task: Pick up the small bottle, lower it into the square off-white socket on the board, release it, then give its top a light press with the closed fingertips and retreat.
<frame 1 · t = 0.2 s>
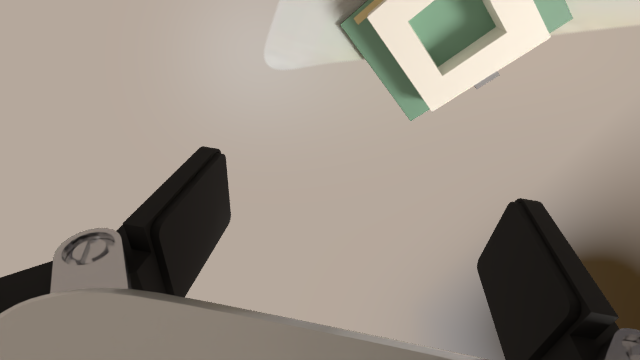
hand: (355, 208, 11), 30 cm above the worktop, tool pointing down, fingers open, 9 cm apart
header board: (449, 21, 34), on the worktop
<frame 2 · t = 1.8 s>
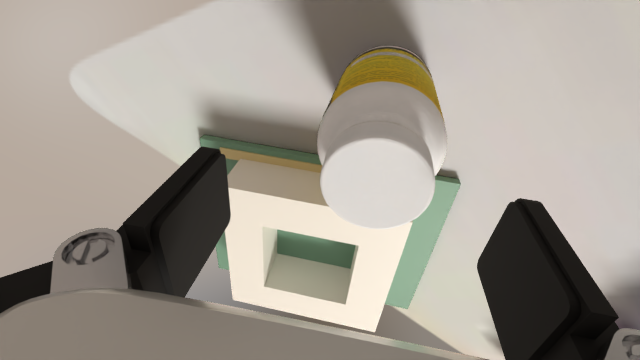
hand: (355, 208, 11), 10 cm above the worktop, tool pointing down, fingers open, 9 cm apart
supplement bottle: (384, 91, 19), on the worktop
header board: (317, 229, 26), on the worktop
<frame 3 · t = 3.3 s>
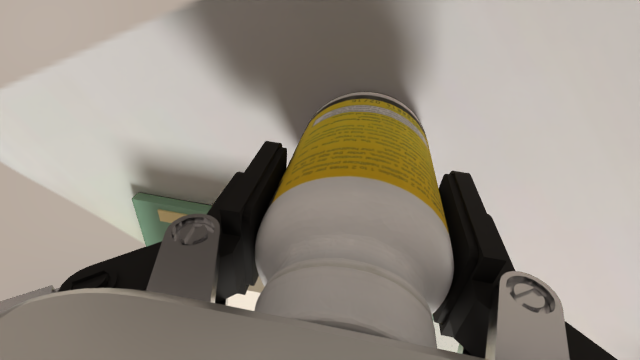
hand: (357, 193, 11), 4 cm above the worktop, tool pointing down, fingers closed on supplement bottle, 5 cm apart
supplement bottle: (363, 146, 15), on the worktop, touching gripper
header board: (288, 299, 21), on the worktop
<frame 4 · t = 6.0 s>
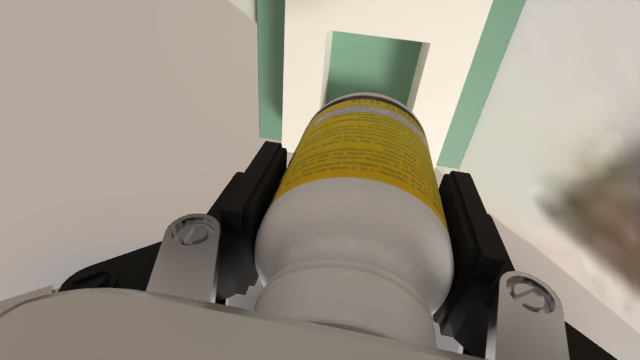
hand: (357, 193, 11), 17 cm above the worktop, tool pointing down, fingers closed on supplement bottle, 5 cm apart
supplement bottle: (363, 146, 14), point 13 cm above the worktop, touching gripper
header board: (370, 71, 25), on the worktop
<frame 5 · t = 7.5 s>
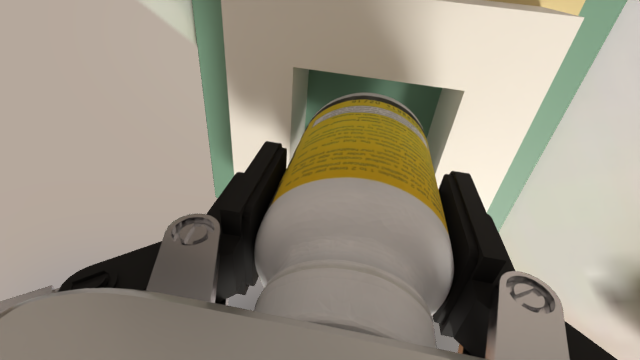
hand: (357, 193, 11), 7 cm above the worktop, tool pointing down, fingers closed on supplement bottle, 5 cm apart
supplement bottle: (362, 146, 14), point 3 cm above the worktop, touching gripper
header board: (366, 117, 17), on the worktop
when the fingers open (5 cm above the worktop, at t = 8.7 s): supplement bottle drops 1 cm, resting on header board.
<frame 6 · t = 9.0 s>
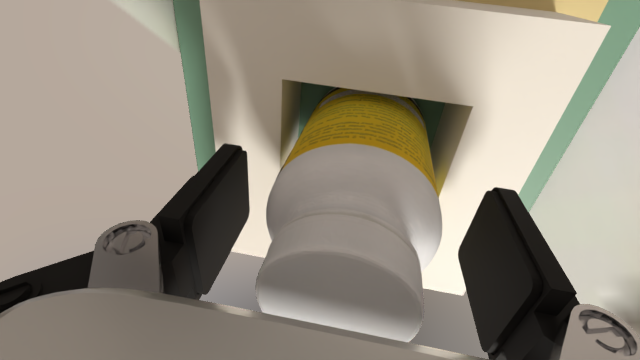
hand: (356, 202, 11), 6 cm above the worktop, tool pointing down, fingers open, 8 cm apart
supplement bottle: (365, 130, 16), resting on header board
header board: (364, 129, 16), on the worktop
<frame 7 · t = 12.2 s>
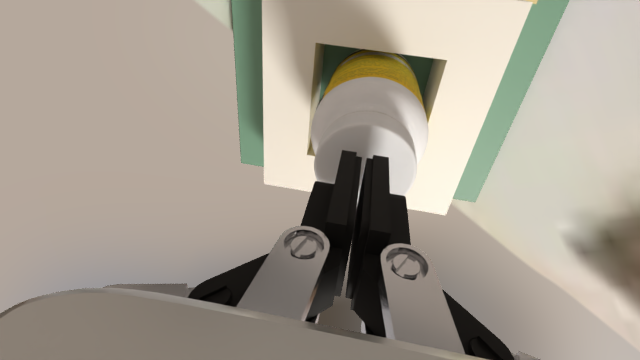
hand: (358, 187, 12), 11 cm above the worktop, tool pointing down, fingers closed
supplement bottle: (372, 89, 20), resting on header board
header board: (371, 89, 21), on the worktop
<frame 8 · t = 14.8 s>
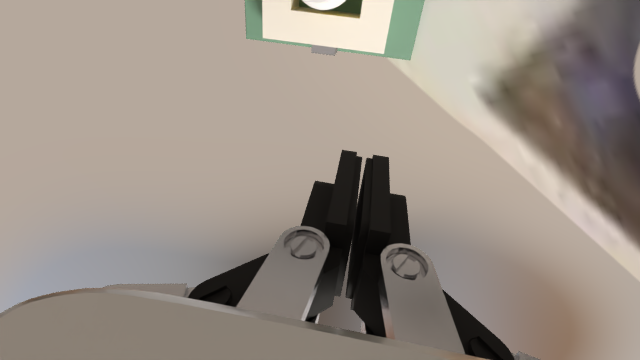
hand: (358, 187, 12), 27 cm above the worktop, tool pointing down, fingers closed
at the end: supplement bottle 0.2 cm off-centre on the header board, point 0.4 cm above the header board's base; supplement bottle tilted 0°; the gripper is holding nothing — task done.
